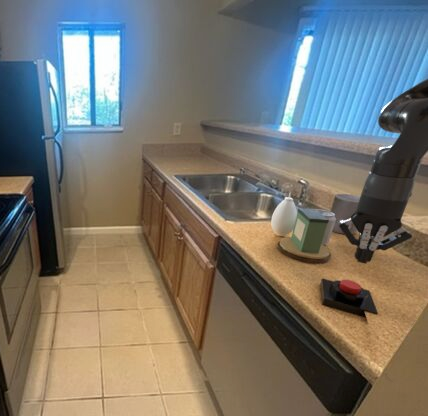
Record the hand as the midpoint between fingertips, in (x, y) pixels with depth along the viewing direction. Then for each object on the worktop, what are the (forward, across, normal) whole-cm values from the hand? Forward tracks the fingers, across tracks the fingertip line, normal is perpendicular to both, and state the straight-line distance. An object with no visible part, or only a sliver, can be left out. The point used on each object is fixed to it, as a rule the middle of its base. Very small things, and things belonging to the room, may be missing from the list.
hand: (361, 261), depth 67 cm
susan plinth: (+12, +9, -24) cm, 29 cm away
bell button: (+9, 0, 0) cm, 9 cm away
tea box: (+10, +9, -24) cm, 28 cm away
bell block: (+12, 0, 0) cm, 12 cm away
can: (+12, +5, -35) cm, 38 cm away
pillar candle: (+12, -4, -53) cm, 55 cm away
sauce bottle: (+12, +16, -35) cm, 41 cm away
